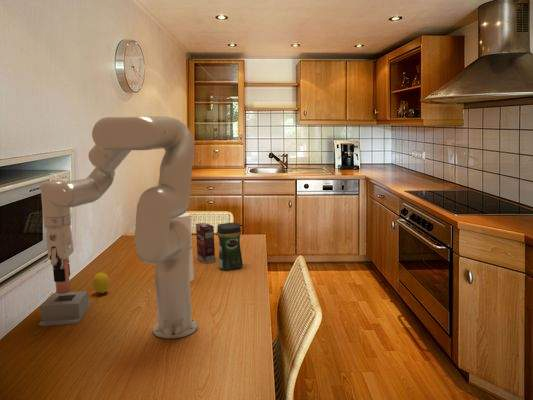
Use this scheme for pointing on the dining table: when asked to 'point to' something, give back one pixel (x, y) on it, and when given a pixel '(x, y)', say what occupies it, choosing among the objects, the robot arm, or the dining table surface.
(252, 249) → the dining table surface
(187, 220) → the cylindrical container
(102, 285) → the lemon
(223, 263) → the coffee jar
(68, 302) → the socket
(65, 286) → the peg
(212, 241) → the supplement box
